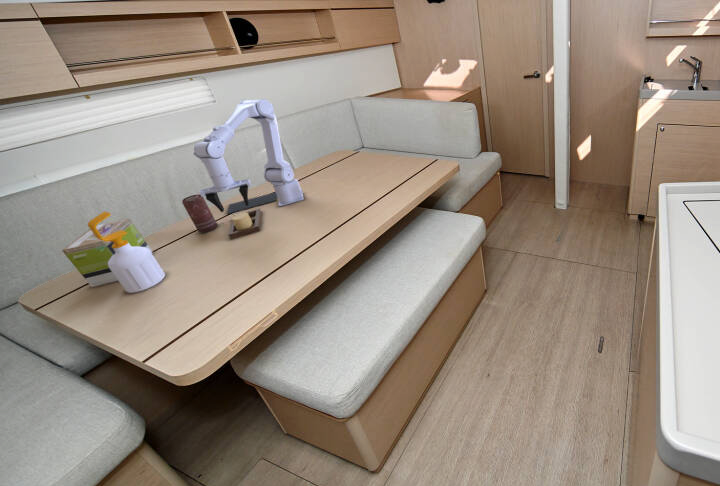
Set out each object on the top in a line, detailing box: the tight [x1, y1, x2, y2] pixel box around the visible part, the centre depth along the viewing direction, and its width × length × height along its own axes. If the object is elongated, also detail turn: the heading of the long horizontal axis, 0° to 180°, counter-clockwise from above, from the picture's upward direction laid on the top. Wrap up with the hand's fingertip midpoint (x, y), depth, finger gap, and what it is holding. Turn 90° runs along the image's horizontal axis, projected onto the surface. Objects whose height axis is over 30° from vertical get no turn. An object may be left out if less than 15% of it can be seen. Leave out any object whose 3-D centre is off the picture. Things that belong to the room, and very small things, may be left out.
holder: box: [228, 207, 263, 240], centre depth 136 cm, size 9×17×2 cm, turn 32°
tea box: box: [61, 217, 154, 288], centre depth 113 cm, size 15×10×15 cm, turn 22°
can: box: [181, 193, 218, 234], centre depth 134 cm, size 6×6×14 cm
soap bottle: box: [87, 211, 166, 294], centre depth 103 cm, size 9×9×25 cm
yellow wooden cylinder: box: [231, 212, 255, 231], centre depth 132 cm, size 5×5×6 cm
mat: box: [226, 191, 278, 215], centre depth 154 cm, size 18×10×1 cm, turn 122°
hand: (235, 207), depth 130 cm, fingers open, 7 cm apart
